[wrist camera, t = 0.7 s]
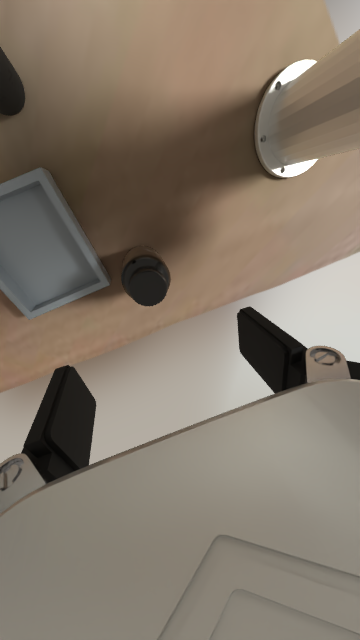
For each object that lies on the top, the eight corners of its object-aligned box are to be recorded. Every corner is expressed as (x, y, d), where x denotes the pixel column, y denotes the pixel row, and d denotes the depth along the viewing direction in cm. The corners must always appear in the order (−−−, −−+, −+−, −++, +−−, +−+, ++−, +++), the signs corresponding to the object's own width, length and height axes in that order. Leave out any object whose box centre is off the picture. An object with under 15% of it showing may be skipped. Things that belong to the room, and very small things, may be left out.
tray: (48, 170, 26) (40, 167, 24) (111, 279, 35) (109, 284, 32) (-52, 212, 26) (-71, 213, 24) (36, 311, 35) (28, 319, 32)
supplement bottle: (159, 242, 34) (173, 257, 24) (164, 280, 37) (179, 308, 27) (117, 247, 33) (114, 266, 23) (127, 287, 36) (127, 318, 26)
